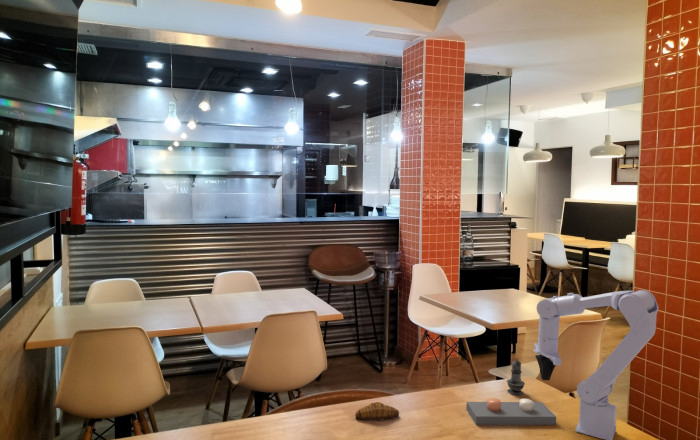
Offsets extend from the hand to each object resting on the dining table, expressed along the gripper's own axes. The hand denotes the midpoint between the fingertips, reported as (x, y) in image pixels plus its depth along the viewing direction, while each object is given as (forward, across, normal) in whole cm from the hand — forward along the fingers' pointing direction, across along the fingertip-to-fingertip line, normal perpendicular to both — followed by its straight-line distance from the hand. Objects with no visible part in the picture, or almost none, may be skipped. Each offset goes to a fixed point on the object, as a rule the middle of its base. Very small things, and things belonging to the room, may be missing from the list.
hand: (545, 379), depth 152 cm
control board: (+10, +4, -12) cm, 16 cm away
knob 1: (+10, +4, -17) cm, 20 cm away
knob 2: (+10, +4, -7) cm, 12 cm away
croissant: (+11, +4, -53) cm, 54 cm away
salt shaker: (+11, -15, -3) cm, 19 cm away
